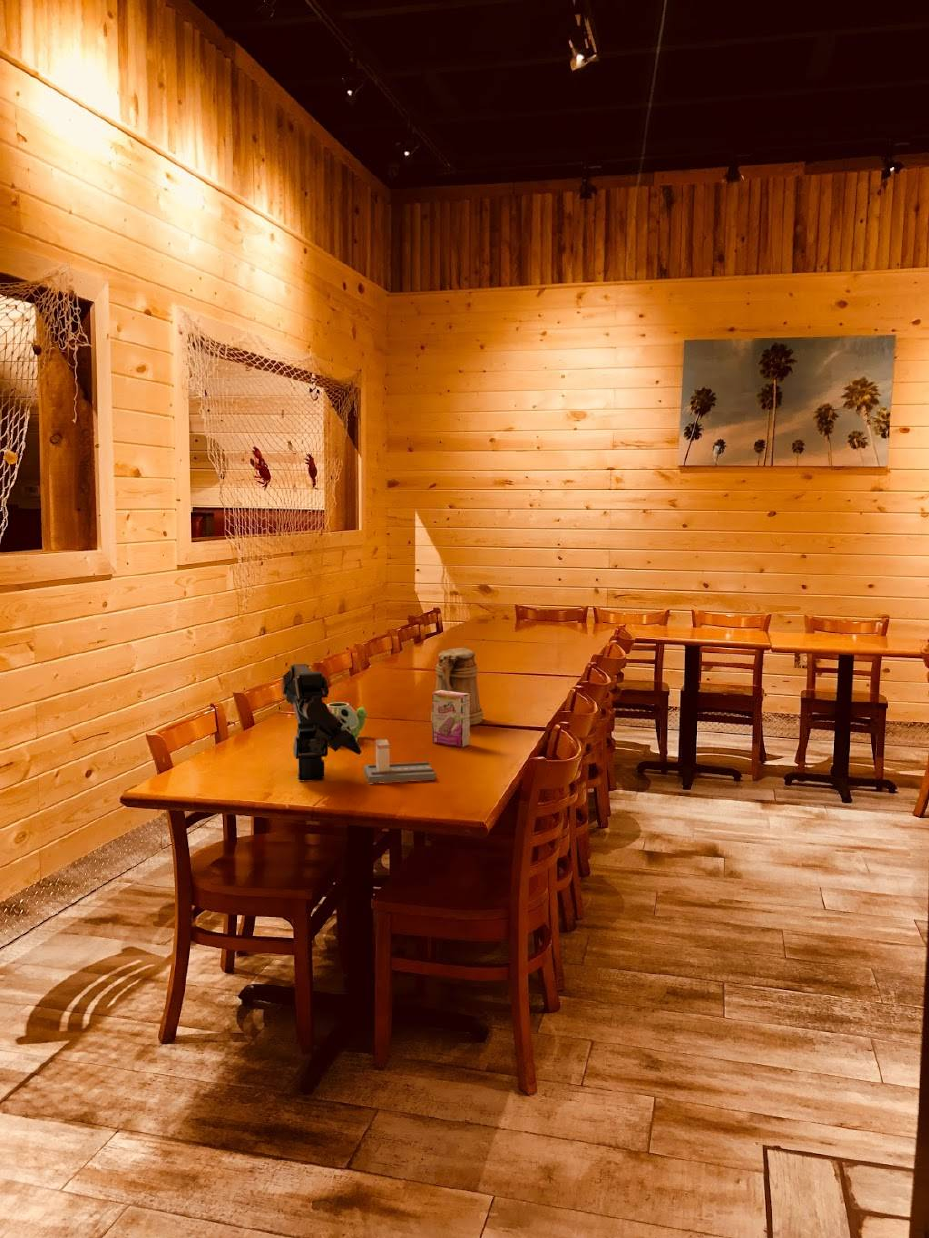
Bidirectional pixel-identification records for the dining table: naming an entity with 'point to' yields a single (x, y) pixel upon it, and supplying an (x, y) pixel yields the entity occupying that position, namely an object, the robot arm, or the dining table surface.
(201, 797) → the dining table surface
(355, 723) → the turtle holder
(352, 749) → the robot arm
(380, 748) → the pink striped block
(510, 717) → the dining table surface
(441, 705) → the candy bar box
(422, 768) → the toy road segment
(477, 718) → the tankard
